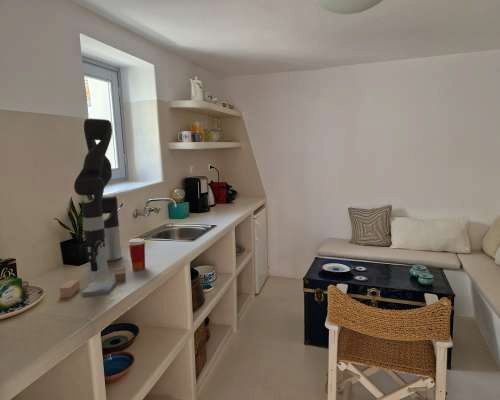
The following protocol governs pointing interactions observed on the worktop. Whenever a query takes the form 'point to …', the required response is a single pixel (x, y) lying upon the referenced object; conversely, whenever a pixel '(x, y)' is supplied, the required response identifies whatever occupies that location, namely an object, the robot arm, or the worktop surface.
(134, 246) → the paper cup
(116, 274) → the walnut brick
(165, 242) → the worktop surface
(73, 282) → the terracotta brick
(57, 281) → the worktop surface
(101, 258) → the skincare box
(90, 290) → the slate slab
